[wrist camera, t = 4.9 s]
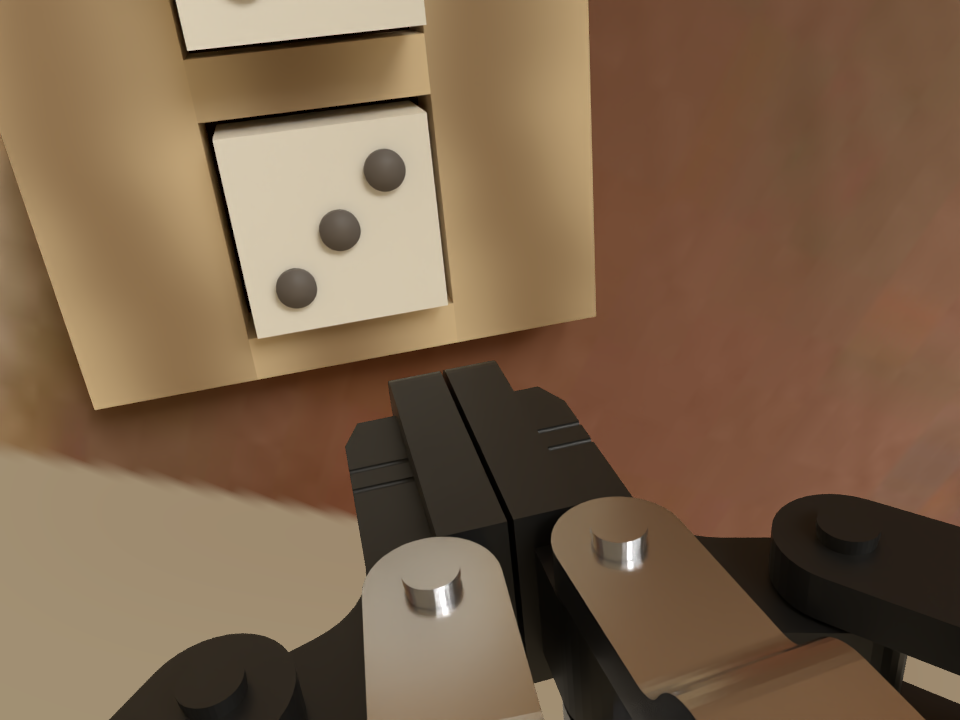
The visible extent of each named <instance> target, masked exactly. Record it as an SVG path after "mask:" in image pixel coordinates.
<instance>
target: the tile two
mask: <svg viewBox="0 0 960 720" xmlns="http://www.w3.org/2000/svg"><path fill="white" fill-rule="evenodd" d="M176 4H177V8H178V13H179V17H180V21H181V26H182V30H183V34H184V39H185V43H186V47H187V51H192V50H201V49H210V48H219V47H228V46H237V45H246V44H256V43H265V42H274V41H283V40H292V39H301V38H310V37H320V36H329V35H338V34H347V33H356V32H365V31H374V30H383V29H393V28H402V27H411V26H420V25H427V24H426V15H425V6H424V0H176Z"/></svg>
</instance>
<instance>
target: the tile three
mask: <svg viewBox="0 0 960 720" xmlns="http://www.w3.org/2000/svg"><path fill="white" fill-rule="evenodd" d="M212 141H213V145H214V149H215V154H216V158H217V162H218V167H219V171H220V176H221V180H222V184H223V189H224V193H225V197H226V202H227V206H228V211H229V215H230V219H231V224H232V228H233V232H234V237H235V241H236V246H237V250H238V254H239V259H240V263H241V267H242V272H243V276H244V281H245V285H246V289H247V294H248V298H249V303H250V307H251V311H252V316H253V320H254V324H255V329H256V333H257V338H258V339H260V338H266V337H271V336H277V335H283V334H288V333H294V332H300V331H305V330H311V329H317V328H322V327H328V326H333V325H339V324H345V323H350V322H356V321H362V320H367V319H373V318H379V317H384V316H390V315H395V314H401V313H407V312H412V311H418V310H424V309H429V308H435V307H440V306H446V305H448V300H447V291H446V282H445V273H444V264H443V255H442V246H441V237H440V228H439V219H438V210H437V201H436V192H435V184H434V175H433V166H432V157H431V148H430V139H429V130H428V121H427V112H425V111H424V110H422V109H421V108H420V107H418V106H417V105H415V104H414V103H413V102H411V101H410V100H406V101H398V102H390V103H382V104H374V105H366V106H359V107H351V108H343V109H335V110H327V111H319V112H311V113H303V114H296V115H288V116H280V117H272V118H264V119H256V120H248V121H240V122H233V123H225V124H217V125H216V128H215V132H214V136H213V140H212Z"/></svg>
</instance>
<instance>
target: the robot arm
mask: <svg viewBox="0 0 960 720" xmlns="http://www.w3.org/2000/svg"><path fill="white" fill-rule="evenodd" d="M388 386H389V394H390V400H391V406H392V412H393V416H392V417H388V418H383V419H378V420H373V421H368V422H363V423H358V424H357V425H356V427H355V429H354V431H353V433H352V435H351V437H350V439H349V441H348V443H347V444H346V446H345V448H346V454H347V460H348V466H349V472H350V478H351V484H352V490H353V495H354V501H355V507H356V513H357V519H358V525H359V530H360V537H361V542H362V548H363V554H364V560H365V566H366V578H365V581H364V584H363V587H362V588H363V589H362V595H361V597H360V599H359V601H358V602H357V604H356V606H355V607H354V608H353V609H352V610H351V612H350V613H349V614H348V615H347V616H346V617H345V618H344V619H343V620H342V621H341V622H340V623H338V624H337V625H336V626H334V627H333V628H332V629H330V630H329V631H327V632H326V633H324V634H322V635H321V636H319V637H317V638H315V639H314V640H312V641H310V642H308V643H306V644H304V645H302V646H300V647H298V648H296V649H294V650H292V651H290V652H288V651H287V650H286V649H285V648H284V647H283V646H282V645H280V644H279V643H278V642H276V641H275V640H272V639H270V638H268V637H265V636H261V635H255V634H244V633H242V634H229V635H225V636H220V637H215V638H212V639H209V640H206V641H203V642H201V643H198V644H196V645H194V646H192V647H190V648H188V649H186V650H185V651H183V652H181V653H179V654H177V655H176V656H175V657H173V658H172V659H171V660H169V661H168V662H167V663H165V664H164V665H163V666H162V667H161V668H160V669H159V670H157V672H155V673H154V674H153V675H152V677H150V679H148V681H147V682H146V683H145V684H144V685H143V686H142V687H141V688H140V689H139V690H138V691H137V692H136V693H135V694H134V695H133V696H132V697H131V698H130V699H129V700H128V701H127V702H126V703H125V704H124V705H123V706H122V707H121V708H120V709H119V710H118V711H117V712H116V713H115V714H114V715H113V716H112V718H111V719H110V720H544V718H543V715H542V711H541V708H540V704H539V701H538V697H537V693H536V690H535V687H534V683H537V682H540V681H544V680H548V679H551V678H554V680H555V682H556V685H557V687H558V690H559V692H560V695H561V697H562V700H563V714H564V720H960V704H958V703H956V702H953V701H951V700H948V699H946V698H944V697H941V696H939V695H936V694H933V693H931V692H929V691H926V690H924V689H921V688H919V687H917V686H914V685H912V684H909V683H907V682H904V681H902V680H903V675H904V670H905V665H906V659H907V655H908V656H911V657H914V658H916V659H919V660H921V661H924V662H926V663H929V664H931V665H934V666H937V667H939V668H942V669H944V670H947V671H950V672H952V673H955V674H957V675H960V527H959V526H955V525H952V524H948V523H945V522H942V521H938V520H935V519H931V518H928V517H925V516H921V515H918V514H914V513H911V512H908V511H904V510H901V509H897V508H894V507H891V506H887V505H884V504H880V503H877V502H874V501H870V500H867V499H863V498H858V497H854V496H847V495H838V494H820V495H812V496H806V497H803V498H799V499H796V500H794V501H792V502H790V503H788V504H787V505H785V506H784V507H782V508H781V509H780V510H779V511H778V512H777V514H776V515H775V517H774V519H773V523H772V530H771V538H715V537H703V536H696V535H693V534H692V533H691V532H690V530H689V529H688V528H687V527H686V526H685V525H684V524H683V523H682V522H681V521H680V519H678V518H677V517H676V516H675V515H674V514H673V513H672V512H670V511H669V510H667V509H665V508H664V507H662V506H660V505H657V504H655V503H652V502H649V501H646V500H642V499H638V498H633V497H632V496H631V494H630V493H629V491H628V490H627V489H626V487H625V486H624V484H623V483H622V481H621V480H620V479H619V477H618V476H617V474H616V473H615V472H614V470H613V469H612V467H611V466H610V464H609V463H608V462H607V460H606V459H605V457H604V456H603V455H602V453H601V452H600V450H599V449H598V448H597V446H596V445H595V443H594V442H591V438H590V436H589V435H588V433H587V432H586V431H585V429H584V428H583V426H582V425H579V421H578V419H577V418H576V416H575V415H574V414H573V412H572V411H571V409H570V408H569V407H568V405H567V404H566V402H565V401H564V400H562V399H560V398H558V397H556V396H555V395H553V394H551V393H549V392H547V391H545V390H543V389H542V388H540V387H534V388H529V389H524V390H519V391H513V389H512V388H511V386H510V384H509V383H508V381H507V379H506V378H505V376H504V374H503V373H502V371H501V369H500V368H499V366H498V364H497V363H496V362H495V361H488V362H483V363H478V364H473V365H468V366H463V367H458V368H452V369H447V370H443V376H442V374H441V372H440V371H438V372H433V373H428V374H423V375H418V376H413V377H408V378H402V379H397V380H392V381H388Z"/></svg>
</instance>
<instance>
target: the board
mask: <svg viewBox="0 0 960 720" xmlns="http://www.w3.org/2000/svg"><path fill="white" fill-rule="evenodd" d="M424 6H425V15H426V24H427V25H420V26H411V27H410V30H400V31H391V32H382V33H373V34H364V35H355V36H346V37H337V38H328V39H319V40H310V41H301V42H292V43H282V44H273V45H264V46H255V47H246V48H237V49H228V50H219V51H210V52H201V53H192V54H189V52H188V51H187V47H186V43H185V39H184V34H183V30H182V26H181V21H180V17H179V13H178V8H177V4H176V0H0V134H1V137H2V140H3V143H4V146H5V149H6V152H7V154H8V157H9V160H10V163H11V166H12V169H13V172H14V175H15V178H16V181H17V184H18V187H19V190H20V193H21V196H22V198H23V201H24V204H25V207H26V210H27V213H28V216H29V219H30V222H31V225H32V228H33V231H34V234H35V237H36V239H37V242H38V245H39V248H40V251H41V254H42V257H43V260H44V263H45V266H46V269H47V272H48V275H49V278H50V281H51V283H52V286H53V289H54V292H55V295H56V298H57V301H58V304H59V307H60V310H61V313H62V316H63V319H64V322H65V325H66V327H67V330H68V333H69V336H70V339H71V342H72V345H73V348H74V351H75V354H76V357H77V360H78V363H79V366H80V368H81V371H82V374H83V377H84V380H85V383H86V386H87V389H88V392H89V395H90V398H91V401H92V404H93V407H94V410H98V409H103V408H109V407H114V406H119V405H125V404H130V403H135V402H141V401H146V400H151V399H157V398H162V397H168V396H173V395H178V394H184V393H189V392H194V391H200V390H205V389H210V388H216V387H221V386H226V385H232V384H237V383H242V382H248V381H253V380H258V379H264V378H269V377H275V376H280V375H285V374H291V373H296V372H301V371H307V370H312V369H317V368H323V367H328V366H333V365H339V364H344V363H349V362H355V361H360V360H365V359H371V358H376V357H382V356H387V355H392V354H398V353H403V352H408V351H414V350H419V349H424V348H430V347H435V346H440V345H446V344H451V343H456V342H462V341H467V340H472V339H478V338H483V337H489V336H494V335H499V334H505V333H510V332H515V331H521V330H526V329H531V328H537V327H542V326H547V325H553V324H558V323H563V322H569V321H574V320H579V319H585V318H590V317H596V295H595V255H594V215H593V175H592V135H591V95H590V54H589V14H588V0H424ZM411 96H417V97H418V105H419V107H420V108H421V109H422V110H424V111H425V112H427V121H428V130H429V139H430V148H431V157H432V166H433V175H434V184H435V192H436V201H437V210H438V219H439V228H440V237H441V246H442V255H443V264H444V273H445V282H446V291H447V300H448V305H446V306H440V307H435V308H429V309H424V310H418V311H412V312H407V313H401V314H395V315H390V316H384V317H379V318H373V319H367V320H362V321H356V322H350V323H345V324H339V325H333V326H328V327H322V328H317V329H311V330H305V331H300V332H294V333H288V334H283V335H277V336H271V337H266V338H260V339H258V338H257V333H256V329H255V324H254V320H253V316H252V312H250V313H249V312H248V308H247V304H246V299H245V295H244V291H243V286H242V282H241V278H240V273H239V269H238V265H237V260H236V256H235V252H234V247H233V243H232V239H231V234H230V230H229V226H228V221H227V217H226V213H225V208H224V204H223V200H222V195H221V191H220V187H219V182H218V178H217V174H216V169H215V165H214V161H213V156H212V152H211V148H210V143H209V139H208V135H207V130H206V126H205V122H213V121H221V120H229V119H237V118H245V117H253V116H261V115H268V114H276V113H284V112H292V111H300V110H308V109H316V108H324V107H332V106H340V105H348V104H356V103H364V102H371V101H379V100H387V99H395V98H403V97H411Z"/></svg>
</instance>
